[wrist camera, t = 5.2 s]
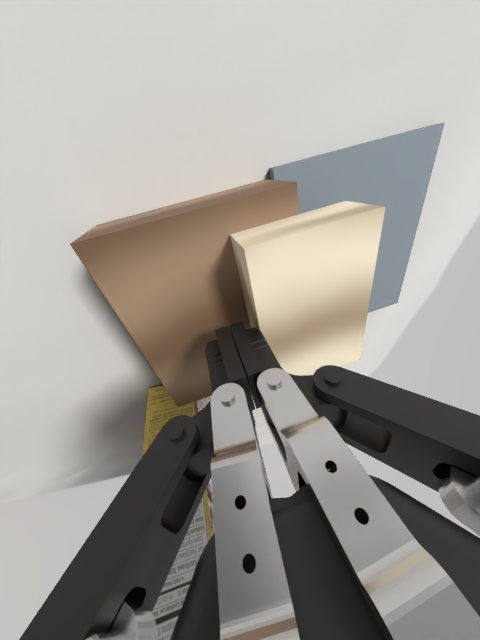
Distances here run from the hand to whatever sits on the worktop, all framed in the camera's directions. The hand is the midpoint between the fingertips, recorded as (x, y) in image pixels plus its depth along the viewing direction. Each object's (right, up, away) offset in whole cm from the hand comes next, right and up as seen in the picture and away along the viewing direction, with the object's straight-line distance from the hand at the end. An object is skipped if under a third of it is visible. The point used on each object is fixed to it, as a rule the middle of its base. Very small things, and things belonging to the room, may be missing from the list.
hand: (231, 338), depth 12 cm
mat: (+9, +6, +5) cm, 12 cm away
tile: (+4, +2, 0) cm, 4 cm away
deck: (-1, +3, +4) cm, 6 cm away
